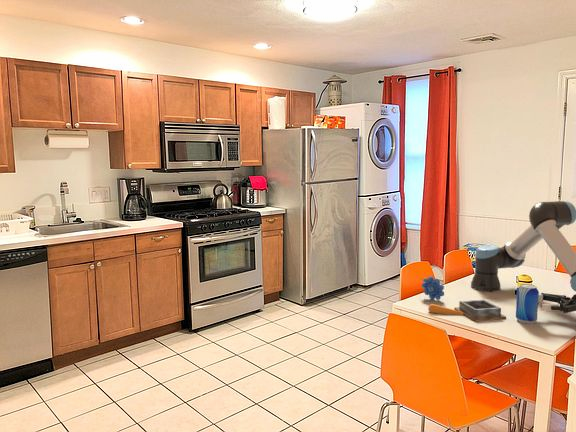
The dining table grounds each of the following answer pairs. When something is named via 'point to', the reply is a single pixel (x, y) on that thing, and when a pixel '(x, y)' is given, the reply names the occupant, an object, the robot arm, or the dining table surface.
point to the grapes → (433, 288)
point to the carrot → (443, 310)
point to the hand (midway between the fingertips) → (534, 302)
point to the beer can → (527, 303)
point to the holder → (480, 310)
